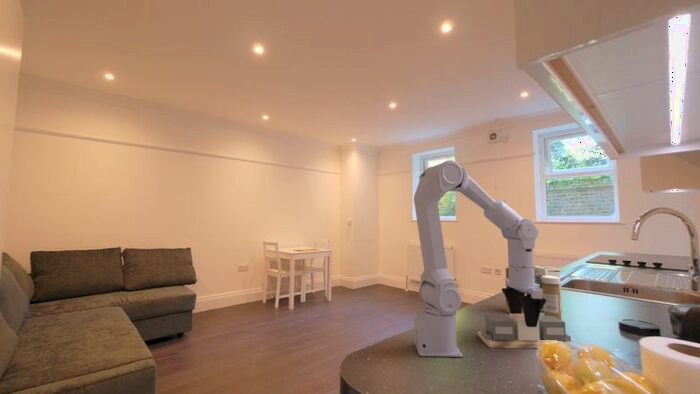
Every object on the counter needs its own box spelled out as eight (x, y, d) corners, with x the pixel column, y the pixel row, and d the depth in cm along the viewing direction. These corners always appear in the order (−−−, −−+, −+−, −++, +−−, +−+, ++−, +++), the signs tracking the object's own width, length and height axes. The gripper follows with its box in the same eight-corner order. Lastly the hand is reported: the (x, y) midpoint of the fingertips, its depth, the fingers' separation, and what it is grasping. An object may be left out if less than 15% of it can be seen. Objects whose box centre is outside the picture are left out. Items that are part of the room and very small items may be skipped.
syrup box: (534, 308, 107) (532, 265, 108) (550, 307, 108) (547, 265, 109) (546, 313, 102) (544, 268, 103) (563, 312, 102) (560, 267, 104)
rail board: (489, 347, 74) (488, 323, 74) (477, 335, 82) (477, 313, 82) (577, 349, 73) (575, 324, 73) (556, 336, 81) (555, 314, 81)
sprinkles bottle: (565, 323, 92) (562, 276, 93) (557, 326, 89) (555, 278, 90) (548, 319, 95) (545, 274, 96) (540, 321, 93) (538, 276, 94)
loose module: (518, 340, 75) (517, 318, 76) (510, 333, 80) (509, 312, 80) (539, 340, 75) (538, 318, 75) (530, 334, 79) (528, 313, 80)
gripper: (554, 270, 71) (557, 331, 70) (523, 262, 86) (525, 313, 85) (522, 270, 72) (525, 331, 71) (496, 262, 86) (498, 312, 85)
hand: (523, 321), depth 78 cm, fingers open, 7 cm apart
